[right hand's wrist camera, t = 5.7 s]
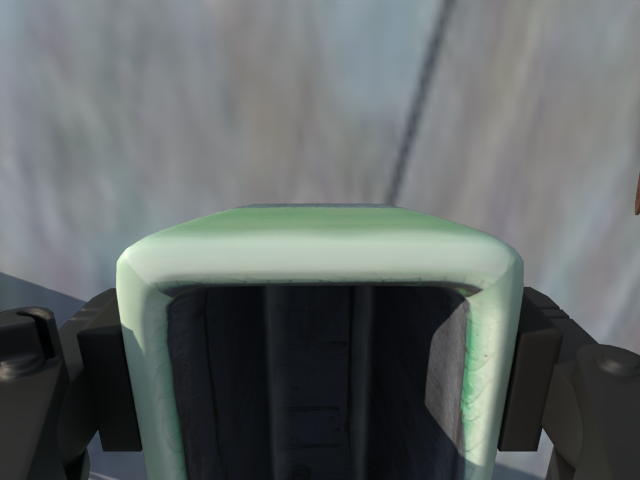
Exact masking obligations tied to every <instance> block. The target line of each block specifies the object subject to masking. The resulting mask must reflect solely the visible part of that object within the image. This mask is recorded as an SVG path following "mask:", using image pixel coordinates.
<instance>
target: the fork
mask: <svg viewBox="0 0 640 480" xmlns="http://www.w3.org/2000/svg"><path fill="white" fill-rule="evenodd" d="M639 213H640V174H639V181H638V187H637V194H636V203H635V215H639Z"/></svg>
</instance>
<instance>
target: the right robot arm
mask: <svg viewBox="0 0 640 480" xmlns="http://www.w3.org/2000/svg"><path fill="white" fill-rule="evenodd" d="M542 428H543V429H544V430H545V432H546V434H547V435H548V437H549V438H550V440H551V441H552V443H553V444H554V446H553V450H552V454H551V459H550V463H549V467H548V471H547V475H546V479H545V480H640V355H638V354H636V353H633V352H631V351H629V350H626V349H623V348H619V347H615V346H611V345H603V344H598V343H597V342H596V341H595V340H594V339H593V338H592V337H591V336H590V335H589V334H588V333H587V332H586V331H585V330H583V329H582V328H581V327H580V326H579V325H578V324H577V323H576V322H575V321H574V320H573V319H570V318H569V316H568V315H567V314H566V313H565V312H564V311H563V310H562V309H560V307H559V306H558V305H557V304H556V303H554V302H553V301H552V300H551V299H550V298H549V297H548V296H546V295H544V294H542V293H540V292H538V291H537V290H535V289H533V288H531V287H523V296H522V303H521V310H520V317H519V324H518V331H517V338H516V344H515V351H514V357H513V362H512V368H511V374H510V379H509V385H508V391H507V396H506V402H505V407H504V413H503V419H502V424H501V430H500V435H499V441H498V446H497V448H498V450H499V451H537V449H538V445H539V441H540V436H541V432H542ZM97 430H98V431H99V435H100V439H101V444H102V448H103V451H142V443H141V438H140V432H139V427H138V421H137V416H136V410H135V404H134V399H133V393H132V388H131V382H130V376H129V371H128V365H127V360H126V354H125V347H124V340H123V333H122V326H121V319H120V312H119V305H118V298H117V291H116V288H111V289H109V290H107V291H105V292H103V293H101V294H99V295H97V296H95V297H93V298H92V299H91V300H90V301H89V302H88V303H87V304H86V305H85V306H84V307H82V308H81V311H78V312H77V313H76V314H75V315H74V316H73V317H72V318H71V320H69V321H68V322H66V323H65V324H64V325H63V326H62V327H61V328H60V329H59V330H58V329H57V325H56V321H55V317H54V313H53V312H52V311H50V310H49V309H47V308H41V307H24V308H17V309H12V310H8V311H3V312H0V480H88V478H89V471H90V460H89V454H88V450H87V446H88V444H89V442H90V441H91V439H92V438H93V436H94V435H95V433H96V432H97Z"/></svg>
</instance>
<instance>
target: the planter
mask: <svg viewBox="0 0 640 480" xmlns="http://www.w3.org/2000/svg"><path fill="white" fill-rule="evenodd" d="M116 291H117V298H118V305H119V312H120V319H121V326H122V333H123V340H124V347H125V354H126V360H127V365H128V371H129V376H130V382H131V388H132V393H133V399H134V404H135V410H136V416H137V421H138V427H139V432H140V438H141V443H142V449H143V455H144V460H145V466H146V471H147V476H148V480H492V474H493V469H494V463H495V458H496V452H497V446H498V441H499V435H500V430H501V424H502V419H503V413H504V407H505V402H506V396H507V391H508V385H509V379H510V374H511V368H512V362H513V357H514V351H515V344H516V338H517V331H518V324H519V317H520V310H521V303H522V296H523V260H522V258H521V256H520V255H519V254H518V252H517V251H516V250H515V249H514V248H513V247H512V246H510V245H508V244H507V243H505V242H503V241H502V240H500V239H498V238H497V237H495V236H493V235H490V234H488V233H485V232H483V231H480V230H477V229H474V228H471V227H468V226H465V225H462V224H458V223H455V222H452V221H449V220H446V219H442V218H439V217H435V216H432V215H428V214H425V213H421V212H417V211H413V210H409V209H405V208H401V207H396V206H391V205H385V204H254V205H248V206H243V207H239V208H234V209H230V210H227V211H223V212H219V213H215V214H212V215H208V216H205V217H202V218H198V219H195V220H192V221H189V222H185V223H182V224H179V225H176V226H173V227H170V228H167V229H164V230H161V231H159V232H157V233H154V234H152V235H149V236H147V237H145V238H143V239H141V240H140V241H138V242H137V243H135V244H133V245H132V246H130V247H129V248H127V249H126V250H125V251H124V253H123V254H122V255H121V256H120V258H119V259H118V261H117V285H116Z"/></svg>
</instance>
